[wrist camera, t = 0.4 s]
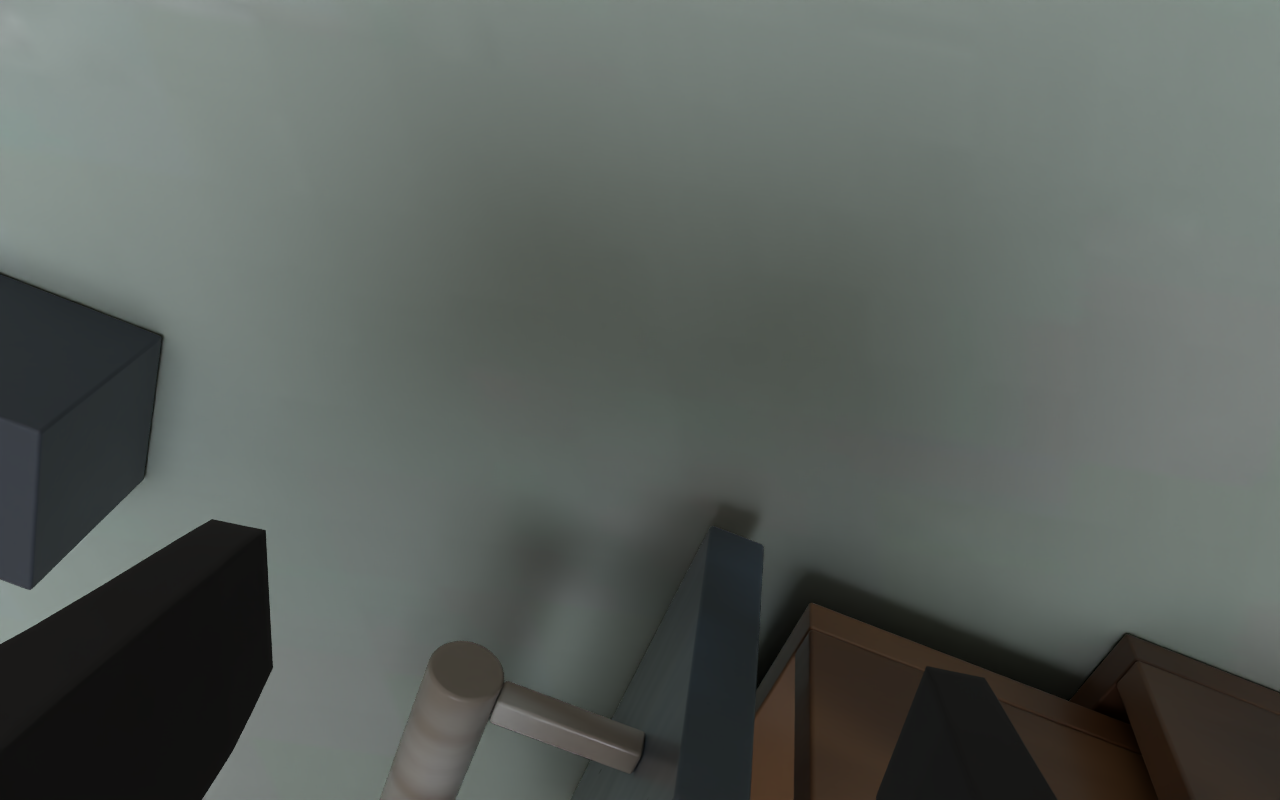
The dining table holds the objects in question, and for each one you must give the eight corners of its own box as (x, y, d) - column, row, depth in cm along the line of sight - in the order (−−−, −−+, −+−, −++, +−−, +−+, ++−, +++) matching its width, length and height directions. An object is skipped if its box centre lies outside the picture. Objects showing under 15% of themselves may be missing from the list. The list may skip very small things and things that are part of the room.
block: (144, 479, 23) (30, 592, 20) (-24, 416, 23) (-169, 519, 20) (163, 335, 21) (40, 432, 18) (-21, 264, 21) (-182, 349, 18)
